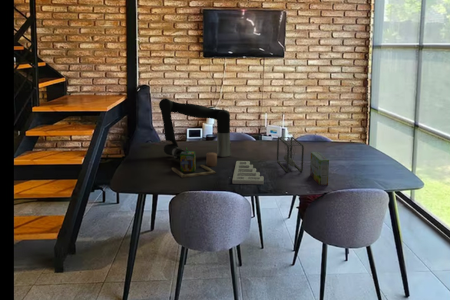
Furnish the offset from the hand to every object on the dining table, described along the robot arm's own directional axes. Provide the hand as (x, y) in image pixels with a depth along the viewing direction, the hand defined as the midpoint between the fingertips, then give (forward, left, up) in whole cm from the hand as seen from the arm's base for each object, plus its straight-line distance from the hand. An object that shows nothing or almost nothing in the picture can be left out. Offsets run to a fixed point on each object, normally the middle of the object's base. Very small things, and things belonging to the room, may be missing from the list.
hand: (187, 159), depth 288 cm
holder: (-30, +28, -7) cm, 42 cm away
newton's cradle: (-62, +24, -7) cm, 67 cm away
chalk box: (+1, +5, -6) cm, 8 cm away
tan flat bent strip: (0, +10, -6) cm, 11 cm away
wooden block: (-17, 0, -6) cm, 18 cm away
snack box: (-61, +58, -6) cm, 84 cm away
